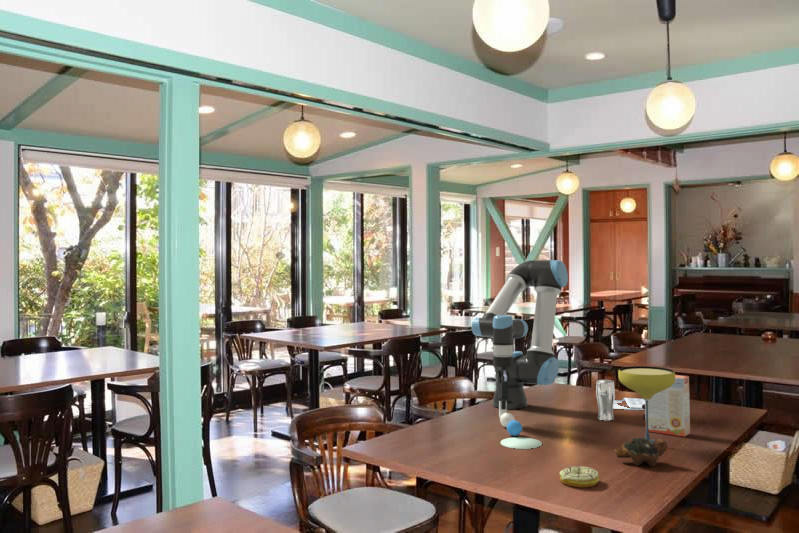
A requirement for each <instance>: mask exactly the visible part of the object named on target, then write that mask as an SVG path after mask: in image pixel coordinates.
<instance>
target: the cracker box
mask: <svg viewBox="0 0 799 533" xmlns="http://www.w3.org/2000/svg"><path fill="white" fill-rule="evenodd" d="M690 409H691V408H690V376H689V375H682V374H681V375H679V374H675V383H674V384H673V385H672V386H671V387H669V388H667V389H665V390H663V391H661V392H658V393H656V394H655V395H653V396H652V398H651V399H650V400H648V429H649V432H650V433H656V434H657V433H658V434H665V435H669V436H675V437H681V436H682V438H685V437H687V436H688V435H691V411H690ZM644 414H645V419H644V420H645V422H646V400H645V411H644Z"/></svg>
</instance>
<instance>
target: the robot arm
mask: <svg viewBox="0 0 799 533" xmlns="http://www.w3.org/2000/svg"><path fill="white" fill-rule="evenodd" d="M568 275H569V274H568V270H567V267H566V264H565V263H564V262H563V261H562V260H559V259H557V260H555V259H554V260H553V259H542V260H539V259H538V260H537V259H536V260H534V259H533V260H526V261H524V262H521V263H520V264H518V265H517V266H515V267H514V268H513V269H512V270H511V271H510V272H509V273H508V275H507V276H506V277H505V280H504V285H503V286H502V287H501V289H500V290H499V292H498V294H496V297H495V298H494V299H493V300H492V303H491V304H490V306H488V308H487V309H486V311H485V313H484V314H483V316H482V317H476V318H474V319H472V322H471V331H472V334H473V335H474V336H475V337H483V338H484V337H485V338H492V347H491V350H493V351H492V354H493V357H492V365H493V366H494V367H495V390H494V395H493V398H492V400H491V403H492V406H493V407H494V408H497V407H498V408H497V409H498V417H499V419H500V417H501V415H502V414H504V413H508V411H507V410H518V409H517V408H520V409H524V408H523V407H525V408H527V407H528V406H529V405H528V403H529V402H528V399H527V396H526V391H525V389H524V384H530V385H531V384H532V385H538V386H551V385H552V384H553V383H554V382H555V381H556V380H557V377H558V374H559V368H560V367H559V360H558V359H557V358H556V357H555V355H556V354H555V353H554V351H553V350H552V347H553V337H554V328H555V319H556V310H557V302H558V301H557V300H558V296H559V295H560V294H561V293H562V288H565V287H566V286H567V284H568V282H569V276H568ZM531 287H533V290H534V291H535V292H536V301H535V310H534V319H533V327H532V336H531V344H530V347H529V348H528V349H527V350H526V354H525V355H524V353H523V351H520V350H518V351H517V350H516V351H514V345H513V343H514V339H521V338H523V337H525V336H526V335H527V333H528V331H529V325H528V323H527V322H526V321H525V320H523V319H520V318H515V319H513V316H512V315H507V313H509V311H510V308H512V305H514V304H515V303H514V302H515V301H516V300H517V298H518V296H519V295H520V294H521V293H523V292H524V291H525V290H526V289H527V288H531ZM526 406H527V407H526Z"/></svg>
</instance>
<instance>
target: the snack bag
mask: <svg viewBox="0 0 799 533" xmlns="http://www.w3.org/2000/svg"><path fill="white" fill-rule="evenodd" d="M622 401H626V403H627V404H626V406H627V407H628V406H629V407H630V408H627V407H624V406H625V405H623V406H620V405H618V404H617V403H622ZM643 404H645V400H644V399H643V398H637V397H636V398H635V397H634V398H633V397H623V398H622V400H615V399H614V404H613V409H624V410H623V411H639V410H644V409H643V408H642V405H643Z"/></svg>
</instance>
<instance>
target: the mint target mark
mask: <svg viewBox="0 0 799 533" xmlns="http://www.w3.org/2000/svg"><path fill="white" fill-rule="evenodd" d="M500 445H501V446H503V447H505V448H509V449H513V448H515V450H532V449H531V448H533V449H537V447H538V448H540V447H541V446H542V445H543V444H542V441H540V440H539V439H534V438H532V437H531V438H530V437H524V436H523V437H521V436H517V437H516V436H513V437H507V438H504V439H502V440H501V441H500ZM539 446H540V447H539Z"/></svg>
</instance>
